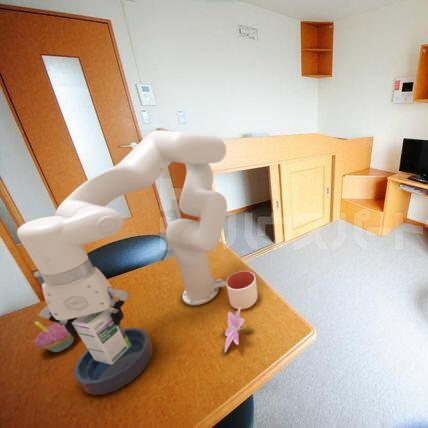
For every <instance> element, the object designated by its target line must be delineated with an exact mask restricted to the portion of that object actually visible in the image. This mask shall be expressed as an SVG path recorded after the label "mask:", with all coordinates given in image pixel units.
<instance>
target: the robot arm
mask: <svg viewBox="0 0 428 428" xmlns="http://www.w3.org/2000/svg"><path fill="white" fill-rule="evenodd" d="M226 154H227V147H226V144H225V142H224V140H223V139H222V138H221V137H220V136H217V135H213V134H211V135H210V134H199V133H192V132H185V131H178V130H177V131H176V130H163V129H160V130H154V131H151V132H150V133H148V134H147V135H145V137H144V138H143V139H142V140H141V141H140V142H138V144H137V145H135V147H134V148H133V149H132V150H131V151H130V152H129V153H128V154H126V156H124V157H123V159H121V161H119V162H118V163H117V164H116V165H114V166H112V167H110V168H108V169H106V170H104V171H102V172H101V173H99V174H97V175H94V176H93V177H91V178H89V179H87V180H86V181H84V182H83V183H82V184H80V185H79V186H78V187H77V188H76V189H74V190H73V192H71V193H70V194H69V195H68V196H66V198H65V199H64V200H63V201H62V202H61V203H60V205H59V206H58V207H57V209H56V211H55V213H54V215H51V216H45V217H39V218H36V219H32V220H30V221H27V222H25V223H23V224H22V225H20V226H19V227H18V228H17V230H16V235H17V238H18V239H19V241H20V242H21V245H22V246H23V247H24V249H25V251H26V252H27V254H28V255H29V257H30V259H31V261H32V262H33V264H34V266H35V267H36V269H37V270H36V271H35V272H34V273H33V276H34V278H37V279H38V278H41V279H42V280H43V283H42V284H41V288H42V294H43V297H44V301H45V303H46V305H47V306H45V307H44V308H43V309H41V310H40V311H39V313H38V314H37V315H38V317H40V318H43V319H46V320H48V321H49V322H53V323H59V325H60V326H65V328H66V329H67V331H68V332H70V334H71V336H72V337H77V336H78V335H79V334H78V333H77V331H76V330H75V328H74V327H73V325H72V322H73V321H74V320H76V319H77V318H79V317H81V316H85V315H89V314H93V313H98V312H101V311H104V310H107V311H110V312H111V315H110V316H111V318H112V320H113V322H114V324H115V325H116V326H117V325H119V324H120V323H121V322H122V320H123V319H124V312H123V310H122V308H123V305H124V304H125V302H126V301H127V299H128V297H129V295H130V292H129V291H126V290H122V289H117V288H113V287H112V285H111V283H110V282H109V281H108V279H107V278H106V276H105V275H104V274H103V272H102V271H101V270H100V269H99V268H98V267H97V266H94V265H93V263H92V262H91V260H90V258H89V256H88V253H87V251H86V250H85V248H84V245H87V244H91V243H95V242H99V241H103V240H106V239H108V238H111V237H113V236H114V235H116V234H117V233H119V232H120V231H121V229H122V228H123V225H124V219H123V216H122V215H121V214H120V213H119V212H118V211H116V210H115V209H113V208H110V207H107V205H109V203H111V202H112V201H115V200H116V199H118V198H119V197H122V196H124V195H127V194H131V193H134V192H139V191H142V190H144V189H149V188H150V187H151V186H153V185H154V183H155V182H156V181H157V180H158V179H159V177H160V176H161V175H162V174H163V173H164V172H165V170H167V168H168V167H169V166H170V164H171V163H179V164H184V165H185V170H186V175H185V179H184V183H183V187H182V190H181V194H180V198H179V202H178V208H179V210H180V211H181V213H183V214H185V215H188V216H191V217H195V218H200V220H194V219H190V218H176V219H174V220H172V221H171V222H169V224H168V225H167V227H166V228H165V238H166V241H167V243H168V245H169V247H170V249H171V250H172V253H173V255H174V258H175V260H176V262H177V266H178V270H179V273H180V276H181V280H182V283H183V284H182V285H183V287H184V291H183V293H182V300H183V303H184V304H186V305H188V306H199V305H203V304H206V303H208V302H209V301H211V300H213V299H214V298H215V297H216V296H217V295H218V293H219V291H220V290H219V289H220V288H224V287H227V286H226V280H223V278H218V279H215V277H214V276H213V275H212V273H211V268H210V263H209V259H208V254H207V253H210V252H212V251H214V250H215V249H216V248H217V246H218V245H219V243H220V239H221V236H222V232H223V228H224V225H225V221H226V217H227V213H228V202H227V199H226V198H225V196H224V195H223V194H222V193H220V192H218V191H214V190H212V188H213V184H214V183H213V182H214V171H213V168H212V167H211V165H210V164H218V163H219V162H221V161H223V160H224V158H225V157H226ZM115 298H119V299H118V300H117V299H115Z"/></svg>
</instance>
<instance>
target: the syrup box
mask: <svg viewBox="0 0 428 428" xmlns="http://www.w3.org/2000/svg"><path fill="white" fill-rule="evenodd" d="M110 315H111V312H110V311H107V310H104V311H101V312H98V313H93V314H89V315H85V316H81V317H77V319H76V320H74V321H73V322H72V325H73V327H74V328H75V330H76V331H77V333H78V334H77V335H78V336H79V338H80V339H81V341H82V342H83V344H84V346H85V347H86V348H87V349H88V350H89V352H90V353H91V355H92V356H93V358H94V360H96V361H99V362H103V363H107V364H111V365H113V364H114V363H115V361H116V360H117V359H118V358H119V357H120V356H121V355H122V354H123V353H124V352H125V351H126V350H127V349H128V348H130V347H131V343H130V341H129V339H128V337H127V335H126V333H125V331H124V329H125V328H124V327H123V325H122V323H121V322H120V324H119V325H117V326H116V325H115V324H114V322H113V320H112V318H111V316H110Z"/></svg>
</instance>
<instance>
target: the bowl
mask: <svg viewBox="0 0 428 428" xmlns="http://www.w3.org/2000/svg"><path fill="white" fill-rule="evenodd" d="M123 329H124V331H125V333H126V335H127V337H128V339H129V341H130V343H131V347H130V348H128V349H127V350H126V351H125V352H124V353H123V354H122V355H121V356H120V357H119V358H118V359H117V360H116V361H115V363H114V364H113V365H111V364H107V363H103V362H99V361H96V360H94V358H93V356H92V355H91V353H90V352H89V350H88V348H87V349H86V350H85V351H84V353H82V355H81V356H80V357H79V358H78V360H77V363H76V364H75V366H74V368H73V369H74V371H73V376H74V378H75V379H76V381H77V383H78V384H79V386H80V387H81V388H82V389H83V392H84V393H86V394H89V395H91V396H100V395H101V396H102V395H107V394H110V393H113V392H116V391H118V390H119V389H121V388H123V387H125V386H127V385H128V384H129V383H131V382H132V381H133V380H135V379H136V378H137V377H139V375H140V374H141V373H142V372H143V371H144V370H145V369H146V368H147V367H148V365H149V363H150V361H151V359H152V357H153V353H154V347H153V343H152V342H151V339H150V336H149V334H148V333H147V332H146V331H145V330H144V329H142V328H138V327H126V328H123Z"/></svg>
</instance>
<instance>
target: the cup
mask: <svg viewBox="0 0 428 428" xmlns="http://www.w3.org/2000/svg"><path fill="white" fill-rule="evenodd" d="M225 282H226V286H225V287H226V291H227V296H228V300H229V301H228V302H229V304H230V306H231V307H232V308H234V309H235V310H238V309H239V308H240V307H241V310H246V309H248V308H250V307H253V305H254V304H256V303H257V300H258V296H259V294H258V288H257V287H258V286H257V279H256V275H255V274H254V273H253V272H252V271H249V270H240V271H237V272H234V273H233V274H231V275H229V277H228V278H227V279H226V280H225Z"/></svg>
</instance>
